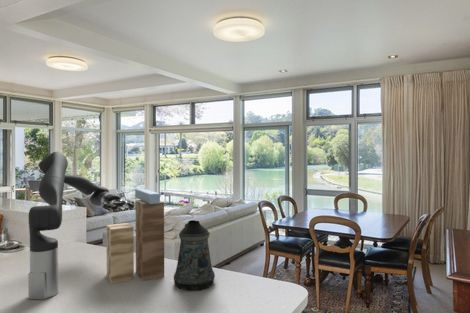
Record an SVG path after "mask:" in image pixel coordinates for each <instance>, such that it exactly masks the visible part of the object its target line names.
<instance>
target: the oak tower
mask: <svg viewBox="0 0 470 313" xmlns="http://www.w3.org/2000/svg"><path fill="white" fill-rule="evenodd" d="M105 229H106V231H105V232H106V234H105V235H106V277H107V279H108V280H109V282H110V283H111V284H115V283H121V282H126V280H127V281H131V280H134V279H135V278H134V275H135V273H134V271H135V266H134V264H135V261H134V259H135V258H134V257H135V255H134V253H135V252H134V249H135V245H134V242H135V241H134V240H135V239H134V235H135V234H134V226H133V225H131V224H130V223H129V222H123V223H113V224H106V228H105Z"/></svg>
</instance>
